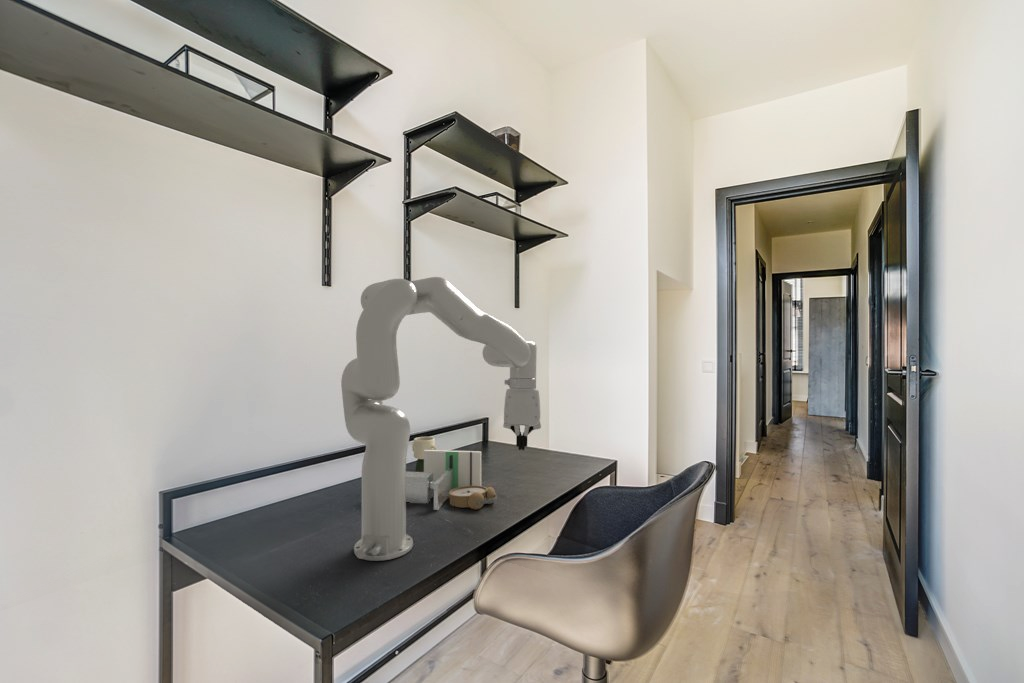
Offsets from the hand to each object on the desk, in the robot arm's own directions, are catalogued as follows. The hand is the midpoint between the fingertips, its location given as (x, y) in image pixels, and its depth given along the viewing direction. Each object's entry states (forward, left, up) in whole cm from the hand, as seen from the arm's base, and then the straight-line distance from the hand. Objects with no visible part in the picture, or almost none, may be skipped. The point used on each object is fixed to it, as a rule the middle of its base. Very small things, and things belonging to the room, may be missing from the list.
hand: (521, 449), depth 131 cm
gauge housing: (0, +33, -16) cm, 36 cm away
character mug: (+23, +36, -16) cm, 45 cm away
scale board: (+10, +23, -16) cm, 29 cm away
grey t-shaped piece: (+1, +28, -15) cm, 32 cm away
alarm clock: (-1, +14, -16) cm, 21 cm away
